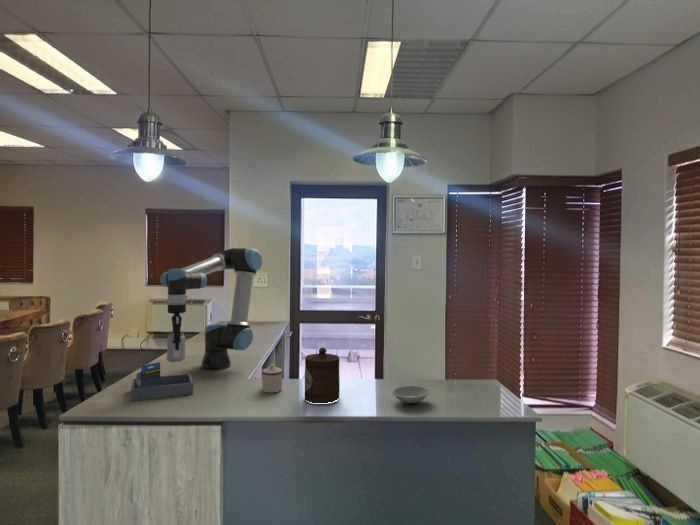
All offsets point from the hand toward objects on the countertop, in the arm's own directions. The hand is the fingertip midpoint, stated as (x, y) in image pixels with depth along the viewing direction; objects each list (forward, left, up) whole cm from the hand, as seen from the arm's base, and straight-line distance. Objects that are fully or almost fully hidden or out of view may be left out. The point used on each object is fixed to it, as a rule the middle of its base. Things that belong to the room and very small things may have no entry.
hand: (176, 355), depth 192 cm
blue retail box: (+11, 0, -15) cm, 19 cm away
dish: (-89, +52, -16) cm, 105 cm away
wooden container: (-56, +34, -16) cm, 68 cm away
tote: (+5, 0, -16) cm, 17 cm away
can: (0, 0, -3) cm, 3 cm away
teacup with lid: (-39, +13, -16) cm, 44 cm away
